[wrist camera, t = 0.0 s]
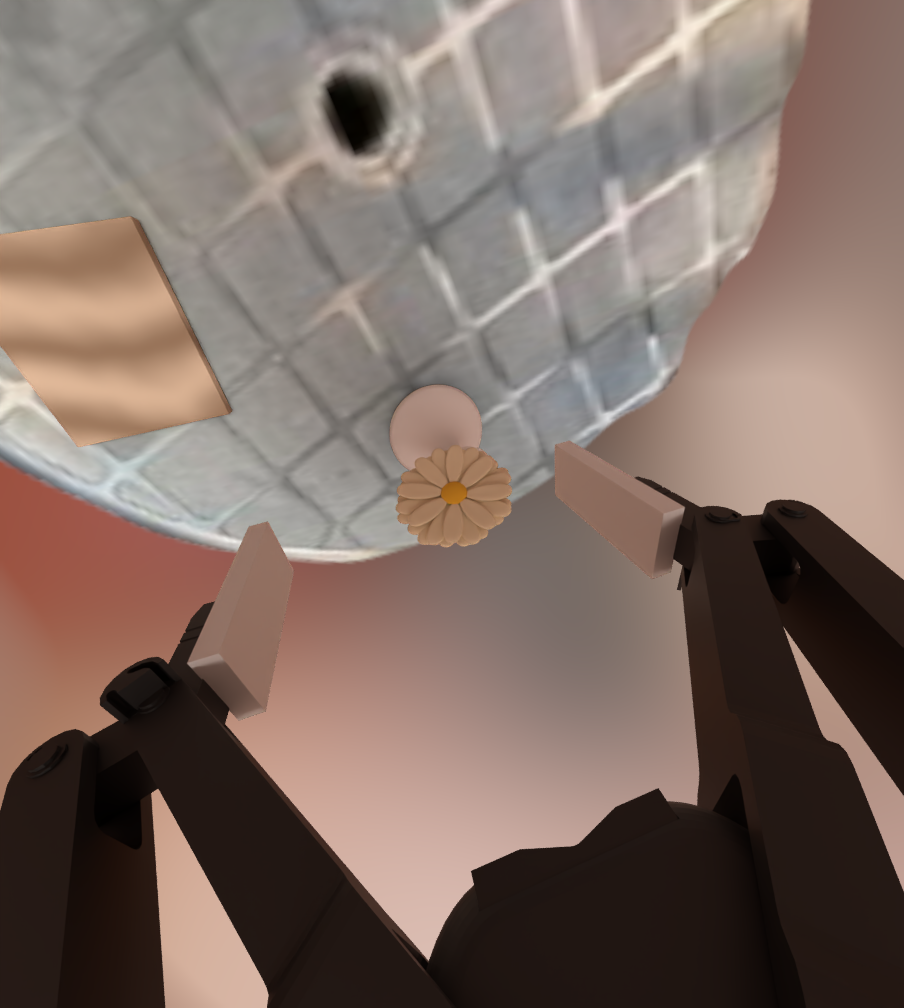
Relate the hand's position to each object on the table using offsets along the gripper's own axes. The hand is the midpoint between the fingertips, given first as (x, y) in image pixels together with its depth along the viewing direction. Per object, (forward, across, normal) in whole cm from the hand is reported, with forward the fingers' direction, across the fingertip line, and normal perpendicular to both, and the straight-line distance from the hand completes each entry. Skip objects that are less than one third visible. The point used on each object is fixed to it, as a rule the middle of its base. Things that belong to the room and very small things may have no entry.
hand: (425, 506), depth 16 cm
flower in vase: (+28, +5, -6) cm, 29 cm away
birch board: (+28, -22, +9) cm, 37 cm away
